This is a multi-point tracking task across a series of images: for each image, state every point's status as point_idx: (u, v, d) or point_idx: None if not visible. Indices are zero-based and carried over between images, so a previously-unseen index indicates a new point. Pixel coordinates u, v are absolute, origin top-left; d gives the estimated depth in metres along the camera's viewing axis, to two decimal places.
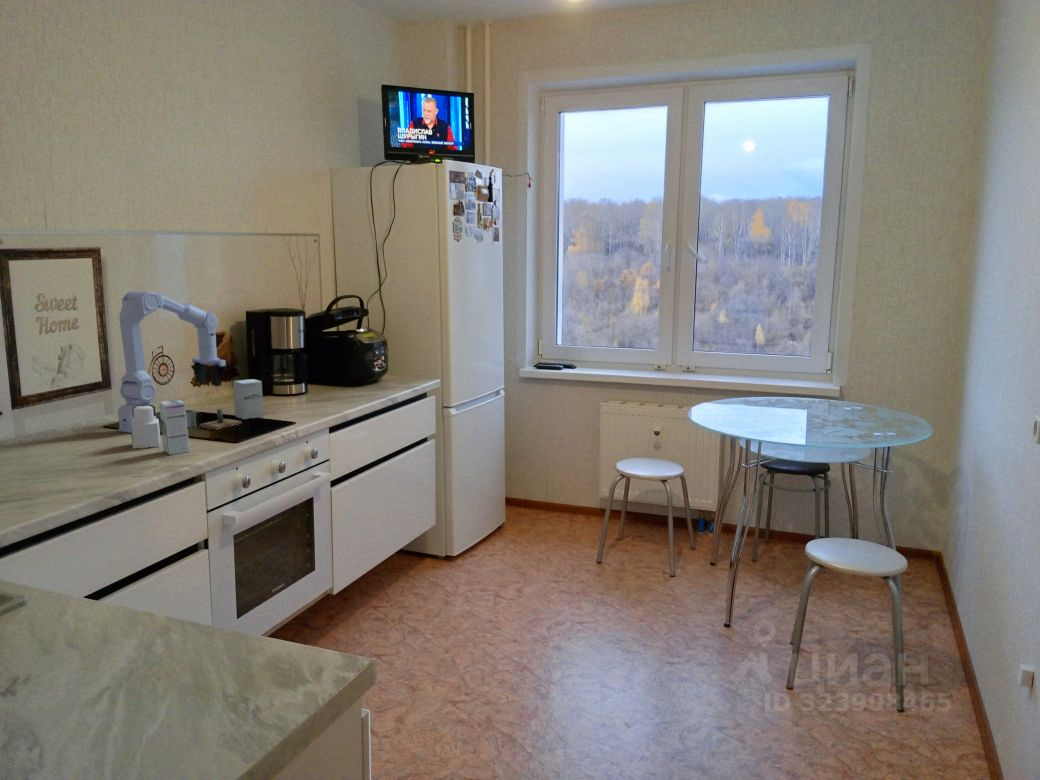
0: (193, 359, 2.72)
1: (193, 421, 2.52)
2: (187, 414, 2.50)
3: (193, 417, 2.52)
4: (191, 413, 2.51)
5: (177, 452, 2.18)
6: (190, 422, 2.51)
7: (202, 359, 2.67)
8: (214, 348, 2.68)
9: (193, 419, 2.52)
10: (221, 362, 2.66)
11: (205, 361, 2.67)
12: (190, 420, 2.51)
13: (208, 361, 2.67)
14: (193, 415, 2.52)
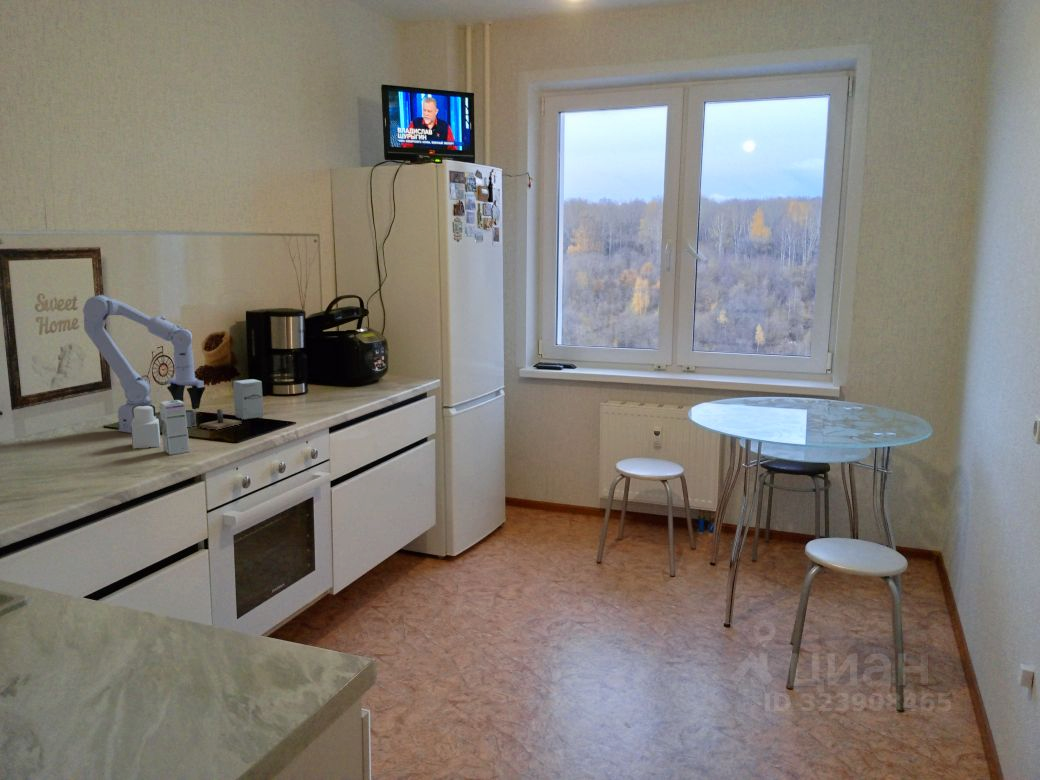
0: (169, 380, 2.52)
1: (193, 421, 2.52)
2: (187, 414, 2.50)
3: (193, 417, 2.52)
4: (191, 413, 2.51)
5: (177, 452, 2.18)
6: (190, 422, 2.51)
7: (178, 380, 2.47)
8: (191, 368, 2.49)
9: (193, 419, 2.52)
10: (199, 383, 2.46)
11: (182, 382, 2.47)
12: (190, 420, 2.51)
13: (185, 382, 2.47)
14: (193, 415, 2.52)
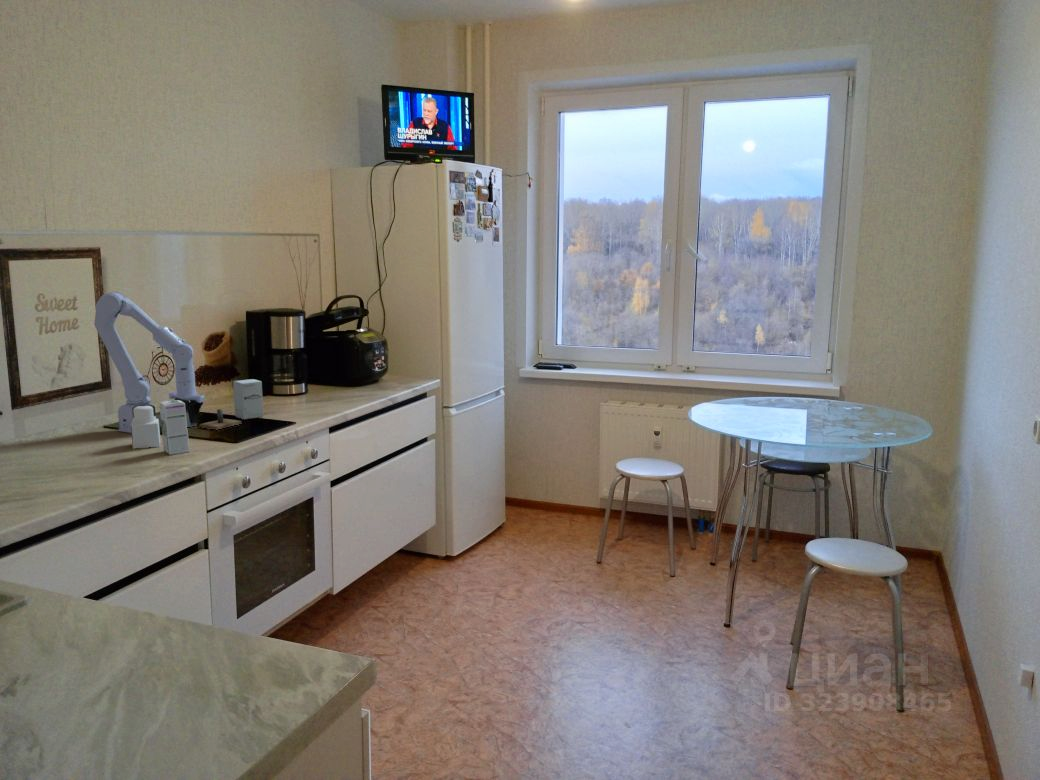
0: (170, 394, 2.53)
1: None
2: (187, 414, 2.50)
3: None
4: None
5: (177, 452, 2.18)
6: None
7: (180, 395, 2.48)
8: (193, 383, 2.50)
9: None
10: (200, 398, 2.47)
11: (183, 397, 2.48)
12: None
13: (186, 397, 2.48)
14: None
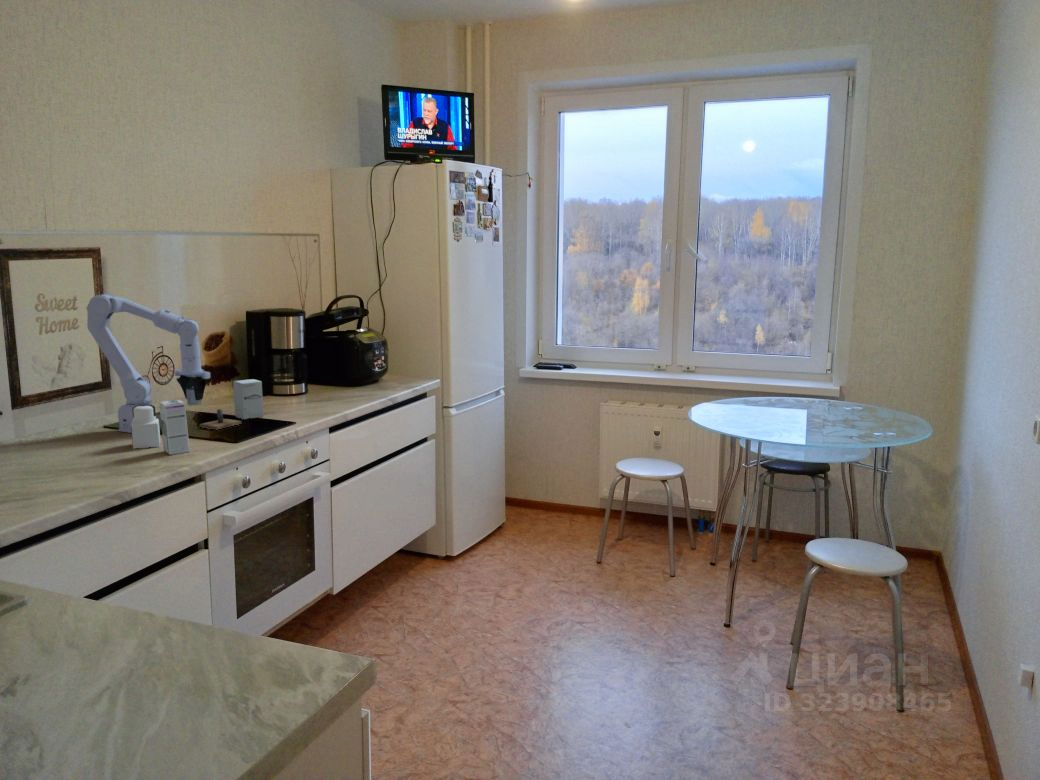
0: (176, 371, 2.52)
1: None
2: (193, 391, 2.49)
3: None
4: None
5: (177, 452, 2.18)
6: None
7: (185, 371, 2.47)
8: (198, 359, 2.48)
9: None
10: (205, 374, 2.46)
11: (188, 373, 2.47)
12: None
13: (191, 373, 2.47)
14: None
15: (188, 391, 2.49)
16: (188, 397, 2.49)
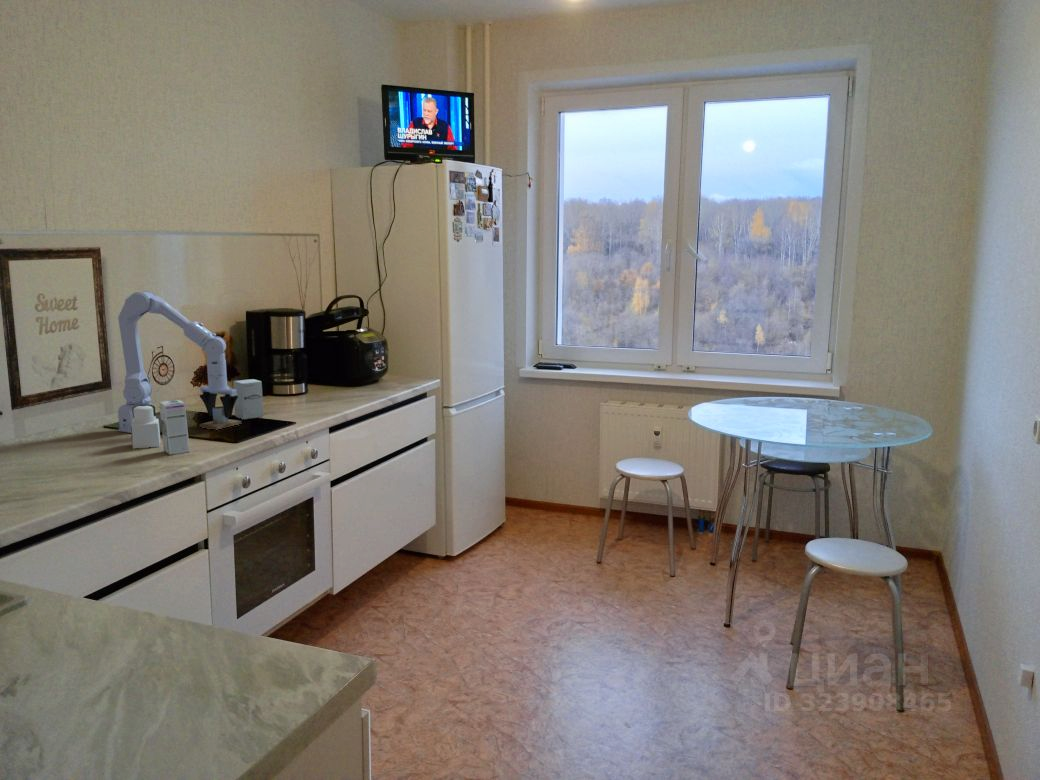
0: (202, 388, 2.53)
1: None
2: (219, 410, 2.50)
3: None
4: (223, 409, 2.51)
5: (177, 452, 2.18)
6: (222, 418, 2.51)
7: (211, 388, 2.48)
8: (224, 376, 2.49)
9: None
10: (232, 392, 2.47)
11: (215, 391, 2.48)
12: (222, 416, 2.51)
13: (218, 391, 2.48)
14: None
15: (214, 410, 2.50)
16: (214, 416, 2.51)
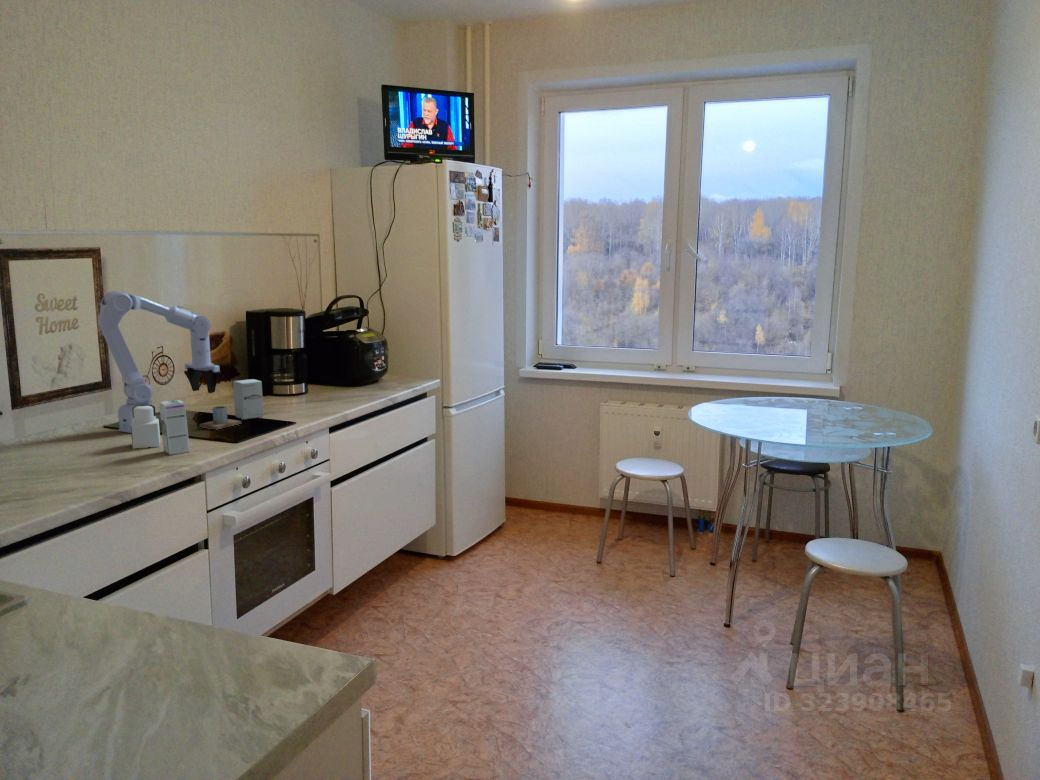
0: (186, 364, 2.60)
1: (225, 417, 2.52)
2: (219, 410, 2.50)
3: (225, 413, 2.52)
4: (223, 409, 2.51)
5: (177, 452, 2.18)
6: (222, 418, 2.51)
7: (195, 364, 2.56)
8: (208, 353, 2.57)
9: (225, 415, 2.52)
10: (215, 368, 2.54)
11: (198, 367, 2.55)
12: (222, 416, 2.51)
13: (201, 367, 2.55)
14: (225, 411, 2.52)
15: (214, 410, 2.50)
16: (214, 416, 2.51)
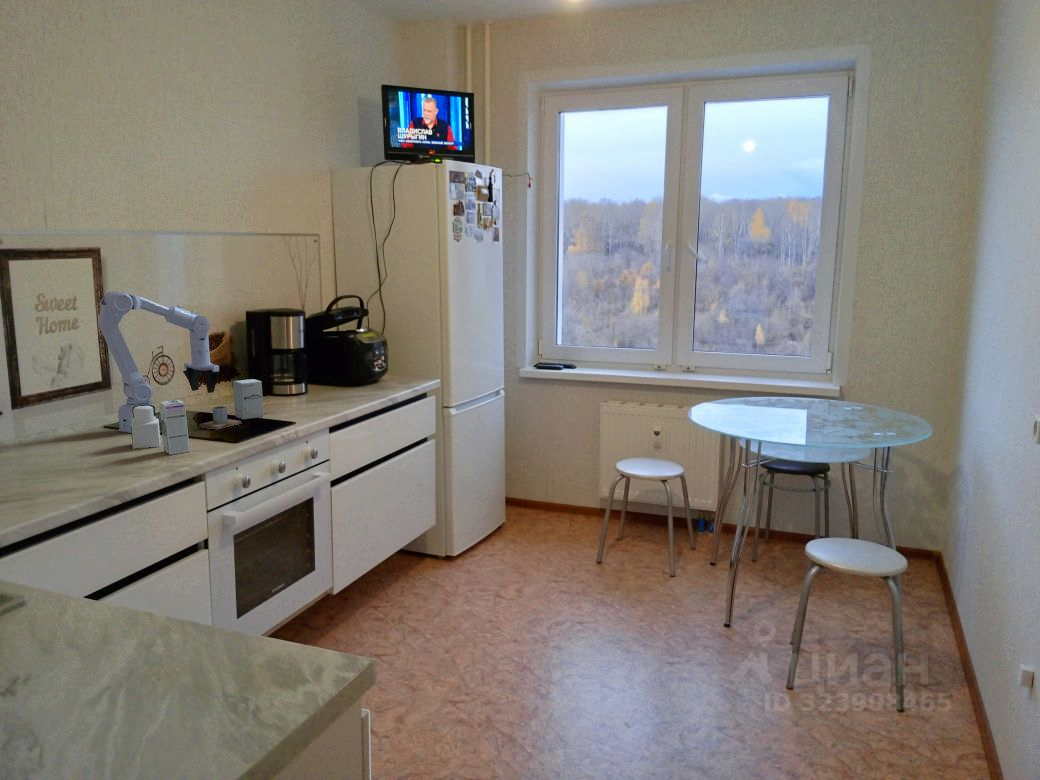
0: (185, 364, 2.61)
1: (225, 417, 2.52)
2: (219, 410, 2.50)
3: (225, 413, 2.52)
4: (223, 409, 2.51)
5: (177, 452, 2.18)
6: (222, 418, 2.51)
7: (194, 364, 2.56)
8: (207, 353, 2.57)
9: (225, 415, 2.52)
10: (214, 367, 2.55)
11: (198, 366, 2.56)
12: (222, 416, 2.51)
13: (201, 366, 2.56)
14: (225, 411, 2.52)
15: (214, 410, 2.50)
16: (214, 416, 2.51)
